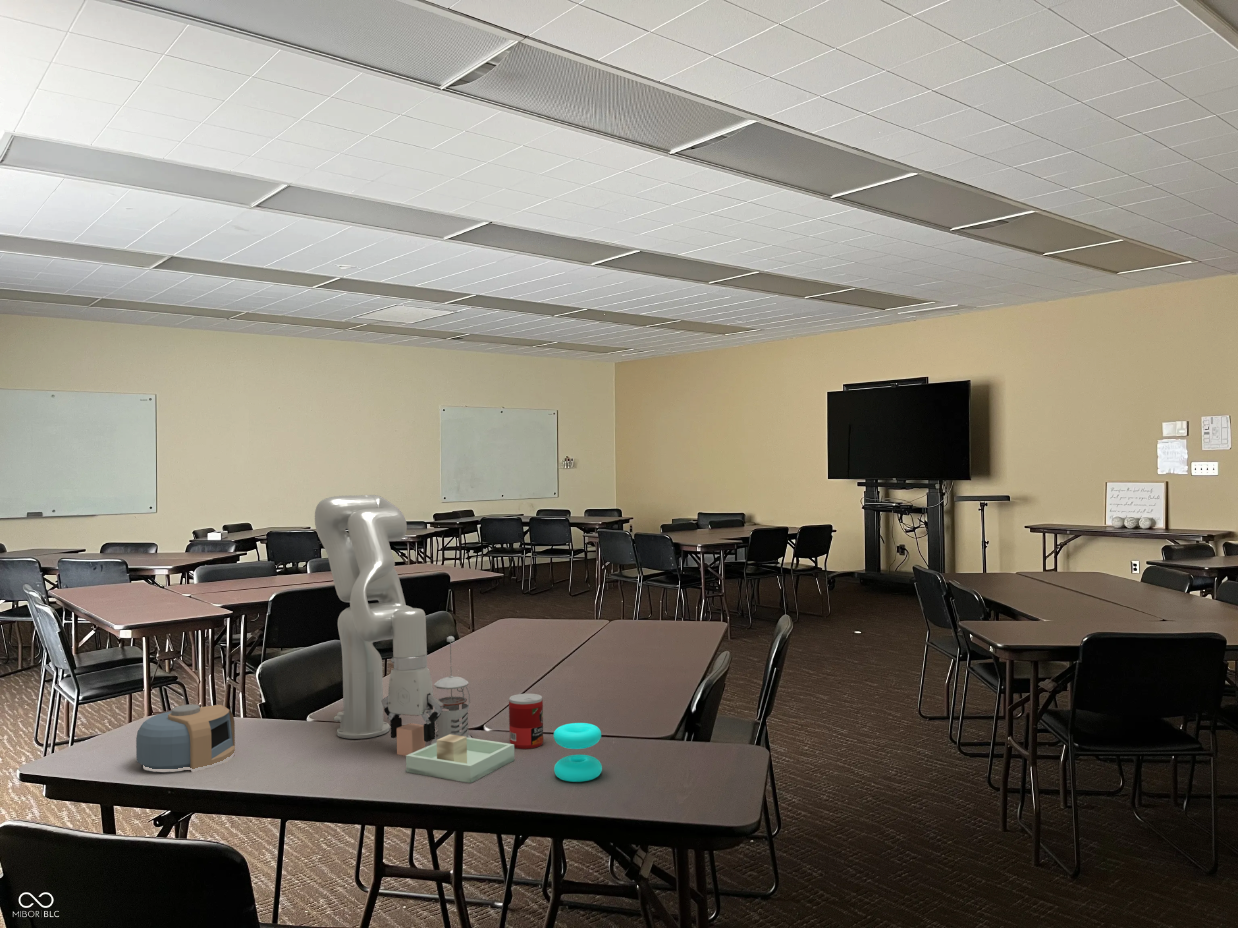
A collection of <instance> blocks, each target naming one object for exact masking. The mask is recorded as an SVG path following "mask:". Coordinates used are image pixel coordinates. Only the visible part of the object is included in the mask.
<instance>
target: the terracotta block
mask: <svg viewBox="0 0 1238 928" xmlns="http://www.w3.org/2000/svg"><path fill="white" fill-rule="evenodd" d="M425 747H426V742H425V741H424V724H419V723H413V722H412V723H411V722H408V723H407V724H404V725H402V726H401V727H398V728H397V737H396V755H398V756H405V757H406V755H409V754H411V753H413V752H415V751H418V750H420V749H422V748H425Z"/></svg>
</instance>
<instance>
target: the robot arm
mask: <svg viewBox="0 0 1238 928" xmlns="http://www.w3.org/2000/svg"><path fill="white" fill-rule="evenodd" d="M314 525H315V530H316V533H317V535H318V539H319V540H320V542H321V544H322V546H323V548H324V550H325V552H326V555H327V558H328V563H329V568H330V572H331V575H332V579H333V584H334V588H335V591H336V595H337V596H338V598H339V600H340V601H342V602H344V603H349V607H346V608H345V609H344V610H342V611H341V612H340V613H339V616H338V618H337V629H338V635H339V640H340V645H341V656H342V657H341V658H342V659H341V660H342V661H341V662H342V695H343V696H342V697H343V698H342V700H343V701H342V702H343V703H342V704H343V708H342V709H343V711H339V712H337V714H336V715H335V716H334V717H333V721H334V722H340V726H339V727H338V728H337V729H336V734H337V736H338V737H340V738H342V739H348V740H358V739H359V740H360V739H369V738H376V737H379V736H382V735H384V734H387V733H389V731H390V738H391V739H395V738H396V739H397V728H398V727H401V726H403V719H402V717H400V716H401V715H402V716H411V717H419V716H421V717H422V720H423V721H424V722H425V723H424V724H423V725H424V741H425V743H428V742H430V741H431V742H432V741H433V740H434V739H435V738H436V722H435V721H437V719H438V717H439V716H440V715H441V711H443V709H442V708H443V706H444V705H443V703H442V702H440V701H439V699H437V698H436V697H435V696H434V688H433V681H432V680H433V679H432V676H431V671H430V668H428V652H427V651H428V649H427V622H426V618H427V617H426V613H425V611H424V609H422V608H417V607H412V606H409V605H406V599H405V596H404V593H403V588H402V585H401V581H400V577H399V574H398V571H397V570H396V568H395V565H396V563H395V559H394V555H393V552H392V549H391V546H390V542H396V541H400V540H402V539H403V538H404V537H405V536H406V535H407V529H408V527H407V526H408V524H407V520H406V517H405V515H404V513H403V512H402V510H401V509H400V508H398V507H397V506H396V505H395V504H393V503H392V502H390V501H389V500H387V499H386V498H384V497H382V496H380V495H377V494H376V495H375V494H364V495H363V494H359V495H358V494H357V495H336V496H335V495H334V496H329V497H326V498H324V499H322V500H320V501H319V502H318V503H317V505H316V507H315V511H314ZM346 529H347V530H346ZM368 601H369V602H368ZM370 601H378V602H373V603H372V602H371V603H370ZM387 640H392V651H393V652H392V655H393V656H392V657H391V659H390V662H391V664H393V668H392V669H391V671H390V674H389V681H388V689H387V696H385V697H384V695H383V694H384V690H383V688H384V687H383V685H384V684H383V682H384V681H383V659H382V656H381V654H380V652H379V651H378V650H377V649H376V647H375V646H374V643H375V642H376V643H377V642H379V641H381V642H382V641H387ZM384 713H385V714H386V716H387V720H388V721H390V724H389V723H388V722H386V721H384Z"/></svg>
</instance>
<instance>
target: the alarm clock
mask: <svg viewBox="0 0 1238 928" xmlns="http://www.w3.org/2000/svg"><path fill="white" fill-rule="evenodd" d="M235 729H236V728H235V718H234V714H233V713H232V711H231V710H230V709H229V708H227V707H226V706H224V705H223V704H215V705H209V706H206V705H205V706H201V707H200V705H198V704H182V705H178V706H175V707H173V708H172V709H171V711H170V710H169V711H165V712H162V713H158V714H155V715H154V716H151V717H149V718H148V719H146V720H145V721H143V722H142V723H141V725H140V727H139V728H138V730H137V734H136V737H135V738H136V740H135V742H136V743H135V744H136V745H135V746H136V758H135V759H136V762H137V763H139V764H140V765H141V766H142V765H144V766H145V767H149V768H152V769H178V768H183V767H190V768H192V769H195V768H198V767H203V766H207V765H212V764H214V763H217V762H220V761H223V760H224V759H226V758H227V757H230V756H231V755H232V754H233V753H234V751H235V752H236V741H235V740H236V739H235V738H236V736H235V735H236V733H235V732H236V731H235Z"/></svg>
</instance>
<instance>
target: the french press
mask: <svg viewBox="0 0 1238 928" xmlns="http://www.w3.org/2000/svg"><path fill="white" fill-rule="evenodd" d="M446 642H447V643H449V648H450V649H449V651H450V652H449V653H450V654H449V655H450V657H449V659H450V664H452V642H455V637H454V636H452V635H450V636H448V637H446ZM452 669H453V668H452V667H450V675H448V676H445V677H442V678H440V679H438V680H437V681H436V682H435V683H433V686H434V687H435V688H437V689H438V690H439V689H440V690H450V696H445V697H442V698H438V700H439V701H440V702H442V703H443V705H444V706H443V708H442V711H441V715H440V716H439V717H438V719H437V721H435V739H433V740H431V745H432V744H434V743H436V742H437V740H438V739H440V738H443V737H445V736H447V735H450V734H451V735H458V736H465V737H467V738H473V737H472V736H471V735H470V733H469V732H470V731H469V713H468V712H469V709H470V703H471V702H470V701H471V698H470V697H471V696H470V695H471V694H470V690H469V688H468V687H467V686H468V685H469V681H468V680H466V679H465V678H463V677H460V676H453V673H452ZM464 688H465V689H466V690H467V692H468V693H467V694H468V704H467V703H466V702H467V698H466V697H465V694H464ZM459 689H460V690H459ZM453 690H456V691H457V692H459V693H461V692H462V696H453ZM460 705H461V708H460ZM443 709H444V710H443ZM445 709H446V710H445ZM460 719H461V720H460Z"/></svg>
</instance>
